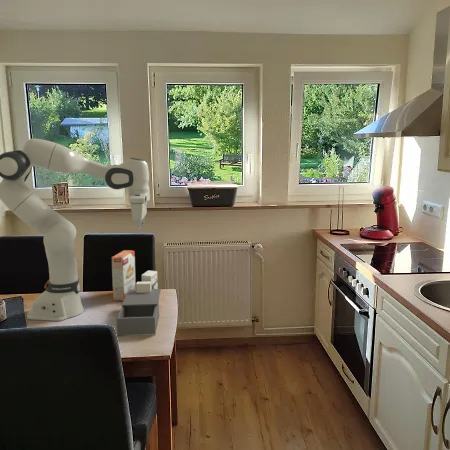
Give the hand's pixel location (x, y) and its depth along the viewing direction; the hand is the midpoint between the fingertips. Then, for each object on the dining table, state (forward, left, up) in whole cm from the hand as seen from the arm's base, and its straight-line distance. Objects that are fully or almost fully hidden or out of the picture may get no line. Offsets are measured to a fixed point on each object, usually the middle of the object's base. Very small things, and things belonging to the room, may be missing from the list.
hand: (140, 228), depth 179 cm
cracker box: (-10, +12, -35) cm, 39 cm away
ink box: (+2, +10, -35) cm, 37 cm away
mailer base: (+1, -22, -35) cm, 41 cm away
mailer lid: (+1, -11, -28) cm, 30 cm away
